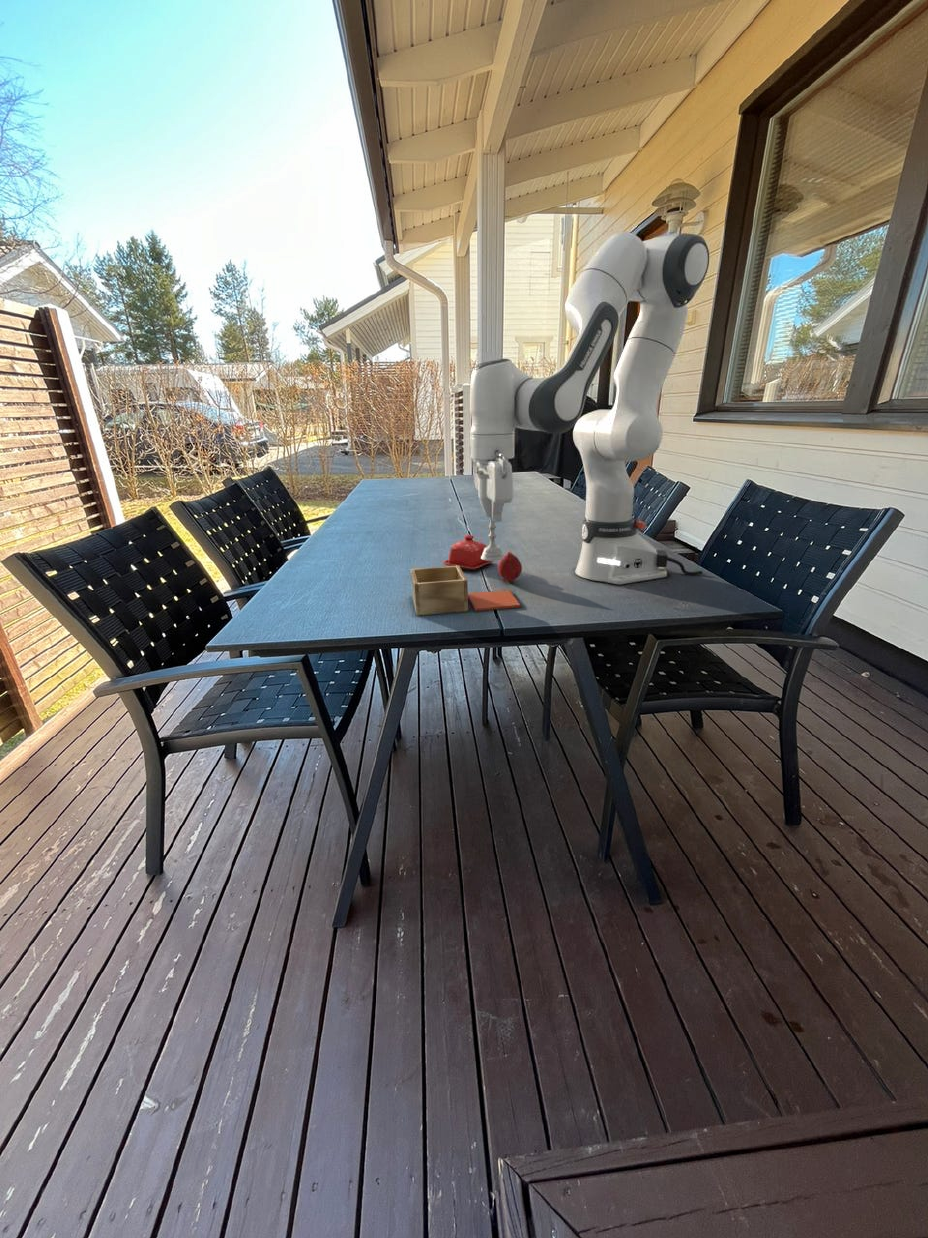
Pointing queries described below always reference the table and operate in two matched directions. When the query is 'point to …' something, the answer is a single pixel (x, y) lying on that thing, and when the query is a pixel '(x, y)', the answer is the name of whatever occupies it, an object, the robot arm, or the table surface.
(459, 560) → the butter dish
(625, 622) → the table surface
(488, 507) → the chalice
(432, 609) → the open wooden box
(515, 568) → the onion
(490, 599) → the coaster
